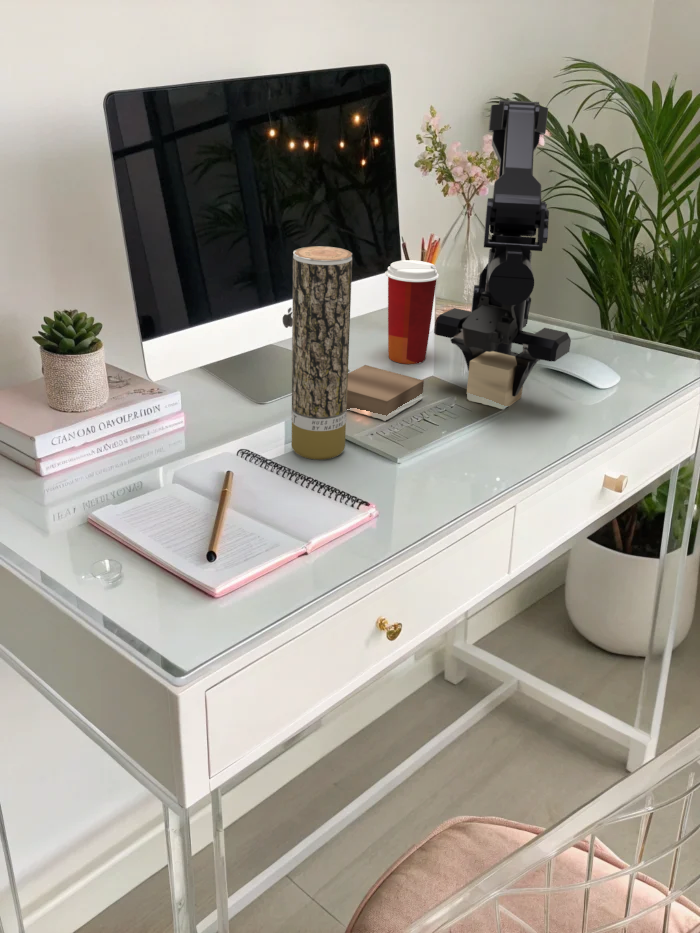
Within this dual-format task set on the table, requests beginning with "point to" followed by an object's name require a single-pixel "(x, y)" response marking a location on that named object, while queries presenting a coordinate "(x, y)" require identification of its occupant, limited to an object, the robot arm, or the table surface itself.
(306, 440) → the paper tube
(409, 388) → the walnut base
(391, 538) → the table surface
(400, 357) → the coffee cup
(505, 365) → the oak cube
